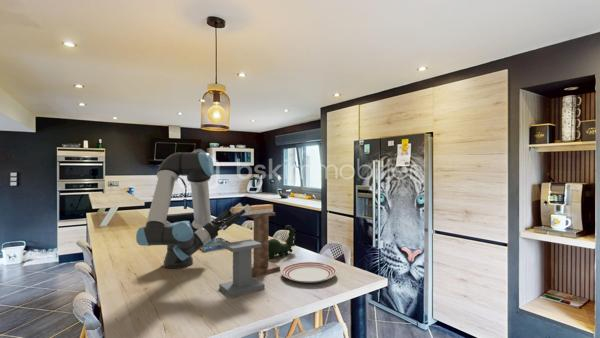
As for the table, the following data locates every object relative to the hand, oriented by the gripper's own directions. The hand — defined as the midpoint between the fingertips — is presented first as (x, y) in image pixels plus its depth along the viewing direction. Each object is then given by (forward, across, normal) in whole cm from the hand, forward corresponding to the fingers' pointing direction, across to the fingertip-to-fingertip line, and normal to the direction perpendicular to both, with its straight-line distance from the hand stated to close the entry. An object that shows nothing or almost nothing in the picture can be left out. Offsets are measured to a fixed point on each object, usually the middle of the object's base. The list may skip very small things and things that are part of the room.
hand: (245, 205), depth 155 cm
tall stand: (-9, 0, -34) cm, 36 cm away
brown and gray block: (+2, 0, -6) cm, 6 cm away
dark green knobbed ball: (+10, -16, -46) cm, 50 cm away
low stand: (-26, +16, -25) cm, 39 cm away
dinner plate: (+3, +22, -42) cm, 47 cm away
